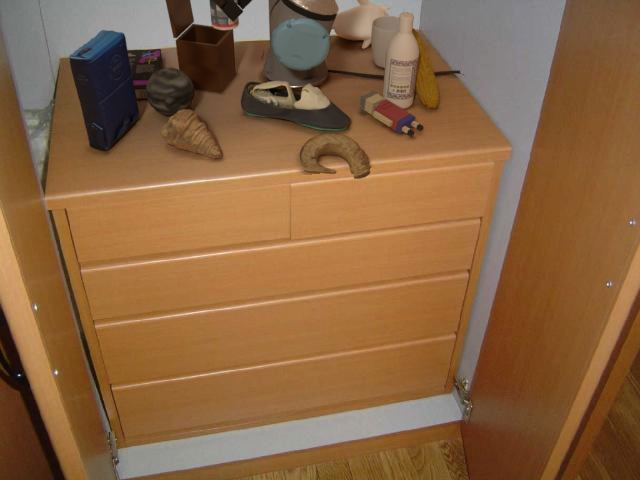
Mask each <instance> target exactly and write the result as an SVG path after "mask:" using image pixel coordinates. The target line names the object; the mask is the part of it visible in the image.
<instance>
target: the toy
mask: <svg viewBox="0 0 640 480" xmlns="http://www.w3.org/2000/svg"><path fill="white" fill-rule="evenodd" d="M359 109H360V110H361V111H363V114H367V113H368V114H369V115H371V116H372V118H374V119H376V120H378V121H379V122H380V123H382V124H384V125H385V126H386V127H388V128H390V129H392V130H393V132H396V133H397V134H399V135H401V134H403V133H405V134H406V135H408V136H409V137H412V136H414V135H415V131H414V130H413V129H412V128H414V129H416V130H418V131H419V132H421V131H423V130H424V127H425V126H424V125H423V124H421V123H419V122H417V121H416V116H415V115H413V114H412V113H411V112H410V111H407V110H406V109H402V108H401V107H399V106H397V105H396V104H394V103H392V102H390V101H389V100H387V99H386V100H384V97H382V95H381V94H379V92H378V91H376V90H371V91H369V92H366V93H365V94H363V95H361V96H360V100H359Z"/></svg>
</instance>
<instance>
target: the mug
mask: <svg viewBox="0 0 640 480" xmlns="http://www.w3.org/2000/svg"><path fill="white" fill-rule="evenodd" d="M398 26H399V16H393V15H389V16H383V17H378V18H376V19H375V20H374V21H373V24H372V33H371V44H370V46H371V47H370V49H371V54H372V55H371V56H372V60H373V62H374V65H376V66H377V67H379V68H382V69H385V61H386V52H387V47H388V45H389V42H390V41H391V39H392V38H393V37H394V35H395V34H396V33H397V32H398Z"/></svg>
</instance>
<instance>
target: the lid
mask: <svg viewBox="0 0 640 480" xmlns="http://www.w3.org/2000/svg"><path fill="white" fill-rule="evenodd" d="M191 2H192V1H191V0H165V4H166V9H167V13H168V18H169V23H170V27H171V34H172V37H173V39H178V38H179V37H180V36H181V35H182V34H183V33H184V32H185V31H186V30H187V29H188V28H189V27H190V26H191V25H192V24H194V22H195V18H194V13H193V8H192V4H191Z"/></svg>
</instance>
